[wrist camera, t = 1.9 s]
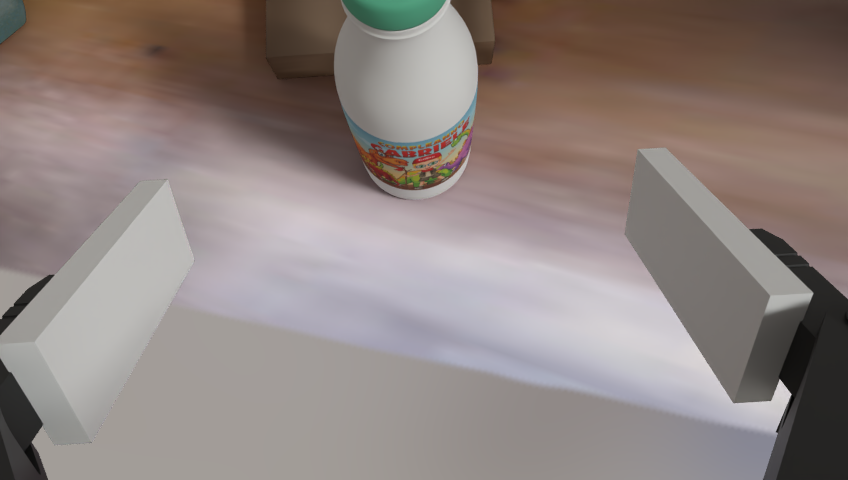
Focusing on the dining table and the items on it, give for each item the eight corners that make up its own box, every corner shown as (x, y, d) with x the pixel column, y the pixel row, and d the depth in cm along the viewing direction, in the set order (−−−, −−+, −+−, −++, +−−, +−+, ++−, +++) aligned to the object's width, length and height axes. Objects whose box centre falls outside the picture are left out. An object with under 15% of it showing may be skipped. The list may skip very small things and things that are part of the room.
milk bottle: (344, 133, 41) (254, -76, 21) (435, 84, 42) (428, -164, 22) (395, 222, 39) (350, 82, 20) (489, 168, 40) (535, -18, 20)
